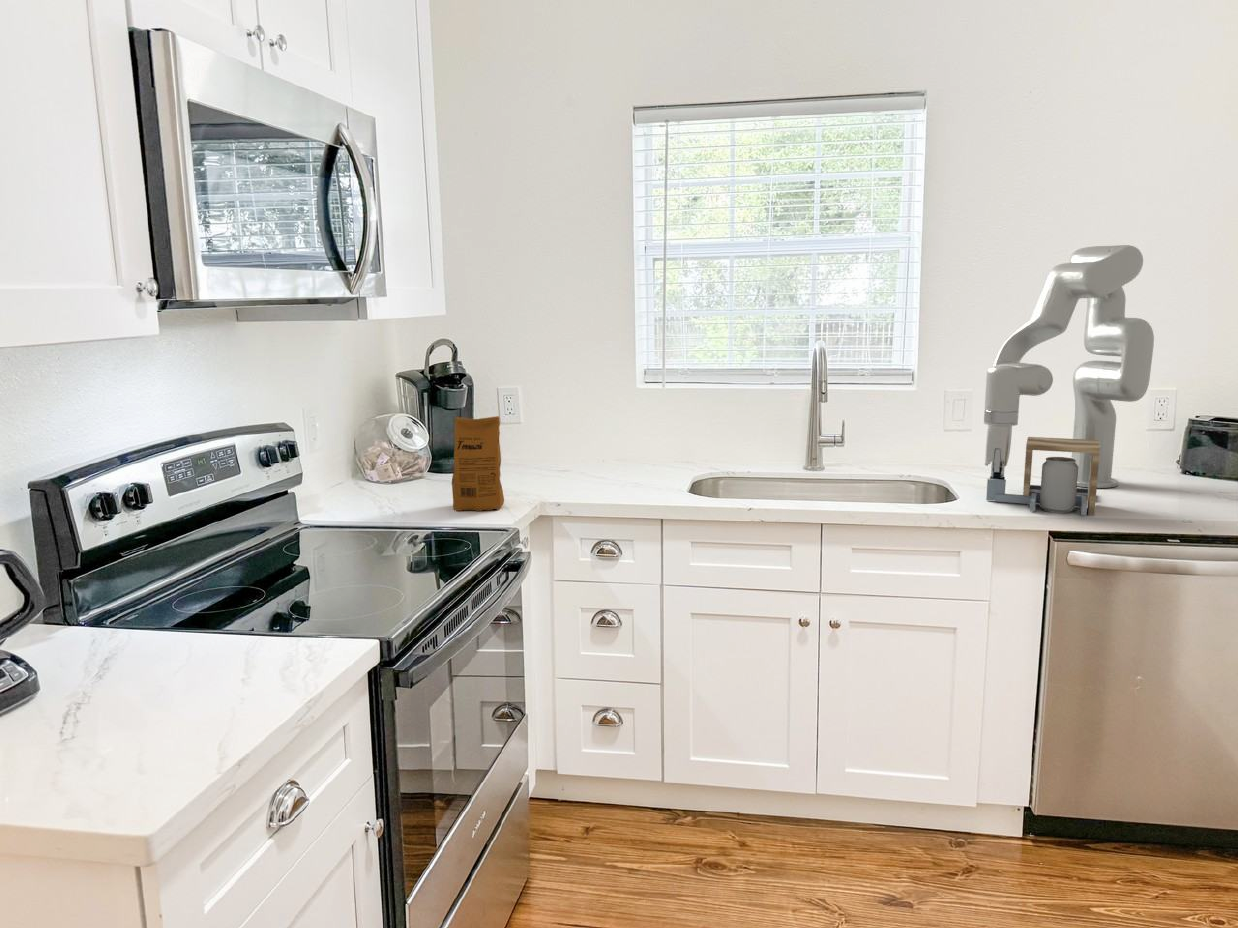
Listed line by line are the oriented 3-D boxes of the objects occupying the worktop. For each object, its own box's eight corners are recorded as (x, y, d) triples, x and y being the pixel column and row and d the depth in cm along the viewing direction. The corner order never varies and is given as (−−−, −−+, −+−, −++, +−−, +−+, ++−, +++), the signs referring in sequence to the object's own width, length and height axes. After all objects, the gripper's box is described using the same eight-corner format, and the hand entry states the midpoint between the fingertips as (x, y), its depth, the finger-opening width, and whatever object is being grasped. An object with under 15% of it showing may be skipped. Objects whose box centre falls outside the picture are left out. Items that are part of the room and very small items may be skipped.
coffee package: (456, 502, 230) (452, 414, 226) (506, 502, 230) (503, 413, 226) (448, 512, 220) (444, 419, 216) (501, 511, 220) (498, 419, 216)
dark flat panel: (1025, 489, 236) (1025, 484, 235) (1091, 494, 229) (1092, 489, 229) (1023, 496, 228) (1024, 491, 228) (1092, 501, 222) (1093, 495, 222)
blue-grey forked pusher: (986, 498, 225) (987, 478, 224) (1085, 506, 216) (1086, 485, 215) (983, 507, 217) (985, 486, 216) (1086, 515, 208) (1088, 493, 207)
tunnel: (1023, 498, 226) (1028, 436, 223) (1092, 504, 220) (1097, 440, 217) (1022, 509, 215) (1026, 444, 212) (1094, 515, 209) (1099, 448, 206)
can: (1078, 514, 210) (1082, 461, 208) (1042, 513, 212) (1046, 460, 209) (1071, 506, 217) (1075, 456, 215) (1036, 505, 219) (1039, 455, 217)
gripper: (986, 413, 231) (982, 486, 235) (981, 421, 218) (977, 498, 221) (1019, 414, 228) (1014, 488, 231) (1016, 422, 215) (1011, 500, 218)
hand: (996, 492), depth 226 cm, fingers closed
